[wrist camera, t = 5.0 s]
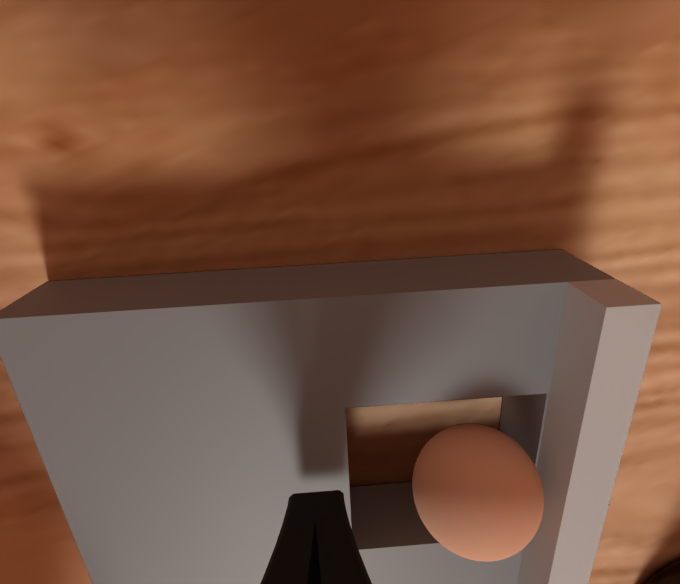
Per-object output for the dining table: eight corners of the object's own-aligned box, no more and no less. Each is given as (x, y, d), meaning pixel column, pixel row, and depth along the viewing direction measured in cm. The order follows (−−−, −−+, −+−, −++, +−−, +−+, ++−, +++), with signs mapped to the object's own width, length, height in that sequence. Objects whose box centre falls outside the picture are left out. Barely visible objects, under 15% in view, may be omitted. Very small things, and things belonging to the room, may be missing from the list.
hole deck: (516, 534, 17) (571, 647, 14) (141, 565, 17) (92, 691, 13) (561, 249, 13) (662, 303, 9) (47, 281, 12) (-68, 352, 9)
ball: (553, 588, 11) (422, 595, 11) (500, 480, 14) (397, 484, 14) (587, 494, 10) (437, 500, 10) (520, 396, 13) (406, 399, 13)
